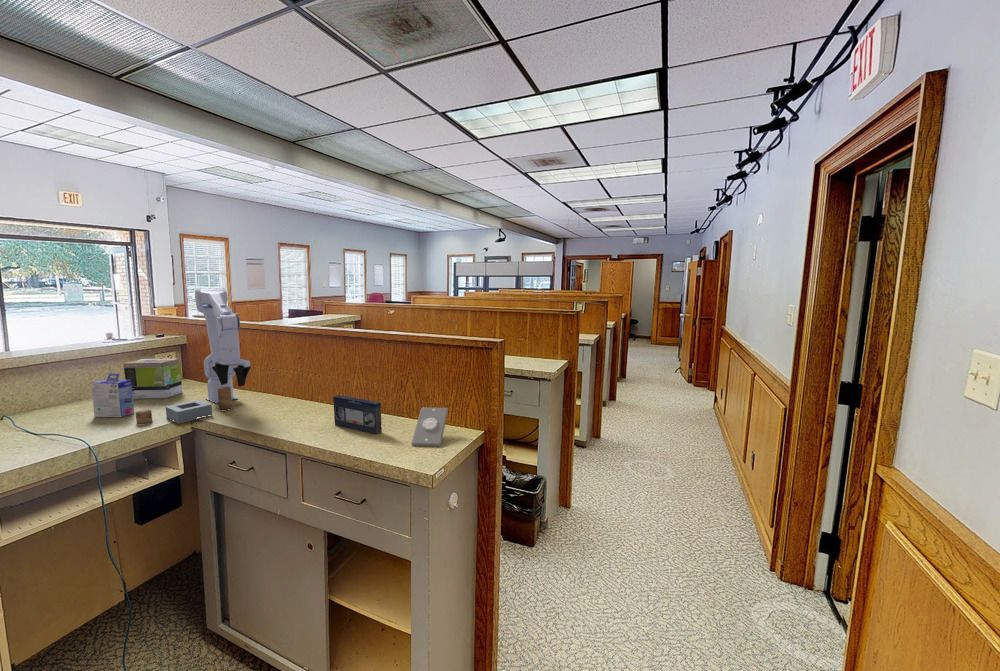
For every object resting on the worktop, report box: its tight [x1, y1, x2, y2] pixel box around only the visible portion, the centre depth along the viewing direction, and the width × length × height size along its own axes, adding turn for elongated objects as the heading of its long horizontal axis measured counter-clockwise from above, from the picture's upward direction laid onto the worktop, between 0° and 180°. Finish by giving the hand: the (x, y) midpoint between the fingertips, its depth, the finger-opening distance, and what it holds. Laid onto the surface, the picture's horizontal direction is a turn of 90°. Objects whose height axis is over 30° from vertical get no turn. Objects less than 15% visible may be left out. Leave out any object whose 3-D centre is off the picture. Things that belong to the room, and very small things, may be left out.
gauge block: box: [165, 399, 213, 424], centre depth 145 cm, size 10×10×4 cm
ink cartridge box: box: [91, 373, 135, 418], centre depth 145 cm, size 10×6×14 cm, turn 89°
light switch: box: [411, 407, 449, 447], centre depth 128 cm, size 8×6×14 cm
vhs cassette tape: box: [333, 394, 383, 435], centre depth 135 cm, size 18×3×10 cm, turn 62°
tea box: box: [123, 357, 183, 400], centre depth 169 cm, size 15×10×15 cm, turn 93°
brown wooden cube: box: [134, 409, 153, 426], centre depth 139 cm, size 4×4×4 cm
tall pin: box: [217, 387, 233, 411], centre depth 153 cm, size 4×4×8 cm
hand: (232, 384), depth 152 cm, fingers open, 7 cm apart
